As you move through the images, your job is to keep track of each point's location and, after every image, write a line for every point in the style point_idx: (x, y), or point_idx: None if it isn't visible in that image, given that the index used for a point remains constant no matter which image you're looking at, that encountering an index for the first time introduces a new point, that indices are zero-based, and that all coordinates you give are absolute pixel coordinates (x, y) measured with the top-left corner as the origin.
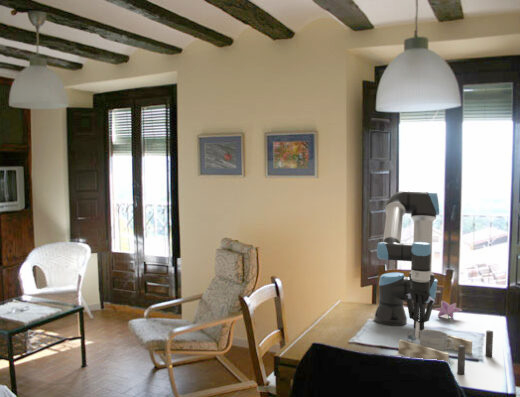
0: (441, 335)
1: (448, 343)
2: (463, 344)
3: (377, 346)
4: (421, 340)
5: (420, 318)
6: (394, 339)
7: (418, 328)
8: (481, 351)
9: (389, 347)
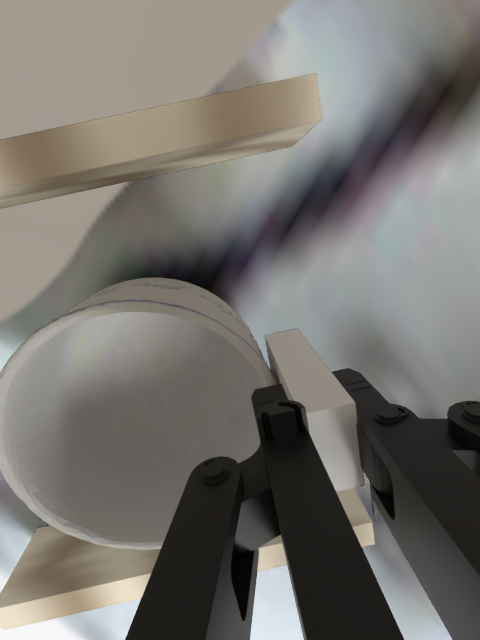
0: (158, 512)
1: None
2: (61, 562)
3: (476, 70)
4: (189, 292)
5: (298, 468)
6: (477, 317)
7: (287, 373)
8: None
9: (402, 146)
